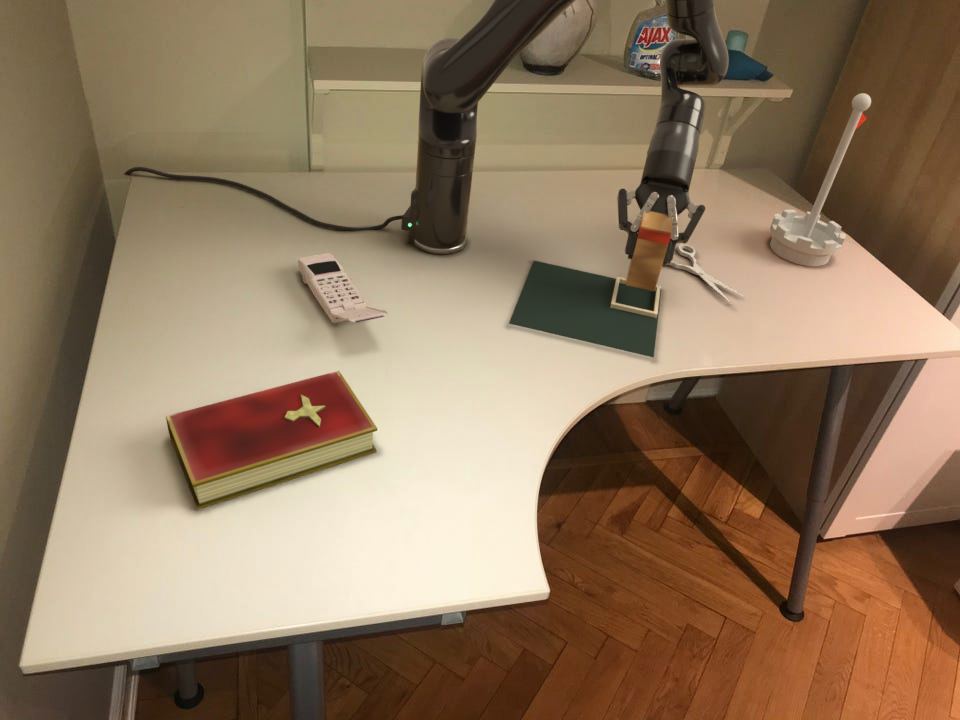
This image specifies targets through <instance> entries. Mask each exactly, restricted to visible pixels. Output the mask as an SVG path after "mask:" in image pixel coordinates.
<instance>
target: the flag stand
mask: <svg viewBox="0 0 960 720" xmlns="http://www.w3.org/2000/svg"><path fill="white" fill-rule="evenodd" d="M871 104H872V98H871V96H870V95H869V94H867V93H864V92H863V93H862V92H861V93H858V94H856V95H855V96H854V97H853V98H852V101H851V107H852V111H851V114H850V116H849V119H848V121H847V124H846V126H845V129H844V131H843V134H842V136H841V139H840V141H839V144H838V145H837V148H836V150H835V152H834V156H833V157H832V160H831V163H830V165H829V167H828V169H827V171H826V174H825V177H824V179H823V182H822V184H821V187H820V189H819V192H818V194H817V195H816V198H815V201H814V204H813V206H812V208H811V211H806V213H805V215H800V214H799V215H797V213H798V212H797V211H796V209H783V210H782V212H781V214H779V213H775V214H774V216H773V219H772V222H771V224H770V228H769V230H770V234H771V235H772V237H771V240H770V243H769V246H770V248H771V251H773V252H774V254H776V255H777V256H779V257H781V258H782V259H784V260H785V261H788V262H791V263H793V264H797V265H801V266H806V267H820V266H824V265H826V264H828V263H829V262H830V259H831V256H832V255H833V254H836V253H838V252H840V250H841V249H842V246H843V244H844V242H845V240H846V238H847V234H846V233H844V232H840V231H841V230H842V229H843V228H842V226H841V225H840V224H838V223H837V222H835V221H834V220H831V221H828V223H825V222H823V221H820V218H821V214H820V213H821V211H822V209H823V207H824V205H825V202H826V200H827V197H828V195H829V193H830V190H831V189H832V186H833V184H834V180H835V178H836V176H837V174H838V172H839V169H840V167H841V164H842V162H843V159H844V157H845V155H846V152H847V150H848V147H849V145H850V143H851V140H852V139H853V136H854V133H855V131H856V130H857V129H858V128H859V127H861V125H862V124H863V123H864V122H865V121H866V120H867V119H868V118H867V116H866V115H865V114H864V113H863V112H865V111H867V110H868V109H869V108H870V107H871Z"/></svg>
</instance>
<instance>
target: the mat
mask: <svg viewBox="0 0 960 720" xmlns="http://www.w3.org/2000/svg"><path fill="white" fill-rule="evenodd" d="M626 279H627V277H626V278H625V277H622V276H621V277H620V276H616V278H615V277H610V276H605V275H601V274H597V273H592V272H588V271H583V270H580V269H574V268H570V267H565V266H560V265H556V264H551V263H547V262H543V261H538V260H533V261H532V264H531V266H530V269H529V272H528V274H527V276H526V278H525V281H524V283H523V286H522V289H521V291H520V294H519V296H518V299H517V302H516V305H515V307H514V309H513V312H512V314H511V317H510V319H509V322H508V324H509V325H513V326H518V327H520V328H521V327H522V328H527V329H529V330H534V331H539V332H543V333H546V334H551V335H555V336H559V337H560V336H561V337H565V338H569V339H573V340H577V341H581V342H585V343H590V344H593V345H599V346H603V347H607V348H610V349H616V350H620V351H624V352H628V353H632V354H637V355H641V356H645V357H649V358H654V357H655V349H656V341H657V332H658V323H659V314H660V306H661V297H662V287H661V285H657V284H656V288H655V291H650V290H645V289H641V288H636V287H632V286H627V285H626Z"/></svg>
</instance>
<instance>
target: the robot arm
mask: <svg viewBox="0 0 960 720" xmlns="http://www.w3.org/2000/svg"><path fill="white" fill-rule="evenodd" d="M576 1H577V0H493V2H492V3H491V5H490V6H489V8H488V9H487V10H486V12H485V13H484V14H483V16H481V18H480V19H479V20H478V22H476V23H475V24H474V25H473V26H472V27H471V28H470V29H469V30H468V31H467V32H466V33H465V34H464V35H463V36H462V37H461V38H459V37H454V36H453V37H452V36H451V37H444V38H441V39H439V40H437V41H435V42H434V43H433V44H432V45H431V46H430V47H429V48H428V49H427V51H426V52H425V54H424V57H423V60H422V64H421V73H420V89H419V91H420V93H419V108H418V109H419V110H418V129H417V130H418V131H417V132H418V133H417V134H418V135H417V136H418V137H417V153H416V154H417V155H416V169H415V171H416V172H415V185H414V188H413V190H412V191H411V193H410V204H409V206H408V208H407V209H406V210H405V212H404V213H403V214H399V215H394V216H391V217H389V218H387V219H386V220H385V221H384V222H383V223H381V224H378V225H373V226H365V227H352V226H345V225H338V224H332V223H327V222H323V221H321V220H317V219H314V218H313V217H310V216H308V215H307V214H305V213H303V212H302V211H299V210H297V209H296V208H293V207H291V206H290V205H287V204H286V203H284V202H282V201H280V200H278V199H277V198H275V197H273V196H271V194H268V193H266V192H264V191H261V190H258V188H257V189H256V188H254V187H251V186H249V185H247V184H243V183H240V182H237V181H234V180H229V179H225V178H220V177H214V176H203V175H202V176H201V175H188V174H187V175H186V174H173V173H167V172H163V171H159V170H156V169H153V168H149V167H146V166H145V167H143V166H135V167H131V168H129V169H127V170H126V171H124V173H123V175H125V176H129V175H130V174H133V173H135V172H145V173H150V174H153V175H157V176H161V177H164V178H169V179H175V180H176V179H177V180H191V181H207V182H215V183H222V184H227V185H230V186H233V187H238V188H241V189H244V190H246V191H249V192H252V193H253V194H256V195H259V196H261V197H263V198H265V199H267V200H269V201H271V202H273V203H274V204H276V205H277V206H279V207H281V208H283V209H285V210H287V211H289V212H291V213H293V214H295V215H296V216H298V217H300V218H302V219H303V220H305V221H308V222H309V223H312V224H314V225H317V226H320V227H322V228H327V229H332V230H338V231H345V232H361V231H362V232H364V231H377V230H381V229H384V228H386V227H387V226H388V225H389V224H390V223H391V222H395V221H401V231H404V232H408V241H407V243H408V244H410V245H413V246H415V247H416V248H417V249H419V250H421V251H423V252H426V253H429V254H435V255H449V254H450V255H451V254H455V253H458V252H460V251H462V250H463V249H464V248H465V246H466V242H467V227H468V220H469V208H470V201H471V192H472V191H471V190H472V183H473V182H472V180H473V172H474V163H475V155H476V146H477V137H478V135H477V133H478V130H477V126H478V125H477V124H478V107H479V102H480V101H481V100H482V98H483V97H484V96H485V95H486V93H488V91H489V90H490V88H491V87H492V86H493V85H494V84H495V82H496V81H497V80H498V78H499V77H500V76H501V75H502V74H503V73H504V72H505V70H506V69H507V67H508V66H509V65H510V64H511V63H512V62H513V61H514V59H516V57H517V56H518V55H520V53H521V52H523V50H524V49H526V48H527V47H528V46H529V45H530V44H531V43H532V42H533V41H535V40H536V39H537V38H538V37H539V36H540V35H541V34H542V33H543V32H545V30H547V28H549V26H550V25H551V24H552V23H553V22H554V21H555V20H557V19H558V18H559V16H561V15H562V14H563V13H564V12H565V11H566V10H567V9H568V8H569V7H571V6H572V5H573V4H574V3H575V2H576ZM664 3H665V10H666V11H665V13H666V21H667V25H668V28H669V29H670V30H671V31H673V32H675V33H677V34H681V35H683V36H684V35H685V36H688V37H690V38H677V39H673V40H671V41H669V42H668V43H667V44H666V45H665V46H664V48H663V49H662V51H661V53H660V57H659V73H660V86H661V87H660V91H661V92H660V105H659V109H658V110H659V111H658V115H657V119H656V123H655V127H654V131H653V133H652V136H651V138H650V142H649V146H648V149H647V152H646V157H645V162H644V167H643V170H642V175H641V178H640V184H639V185H638V186H637V188H636V189H635V190H626V189H625V188H620V189H619V190H618V194H617V217H618V228H619V230H620V231H623V232H626V233H627V240H626V244H625V248H624V254H625V255H627V259H628V260H631V259H632V257H633V254H634V250H635V245H636V241H637V237H638V231H639V228H640V223H641V219H642V215H643V213H644V212H645V211H646V212H645V213H649V212H650V211H652V212H657V213H662V214H667V215H668V217H669V218H673V225H672V233H671V237H670V241H669V244H668V247H667V250H666V254H665V257H664V260H663V264H662V267H667V266H668V265H667V263H668V264H670V262H671V261H673V259H674V256H675V251H676V246H677V244H687V243H688V242H689V240H690V238H691V236H692V235H693V233H694V231H695V229H696V228H697V226H698V224H699V223H700V220H701V218H702V217H703V215H704V213H705V211H706V206H705V205H704V204H699V205H698V204H696V203H694V202H692V201H691V199H690V195H689V191H690V187H691V184H692V179H693V175H694V170H695V165H696V162H697V156H698V152H699V146H700V137H701V133H702V127H703V123H704V119H705V114H706V110H707V109H706V108H707V104H706V100H705V98H703V96H701V95H700V94H699V93H697V92H694V91H691V90H688V89H683V88H681V87H698V86H699V87H700V86H701V87H712V86H715V85H718V84H719V83H721V82H722V80H723V79H724V78H725V77H726V75H727V73H728V69H729V64H730V63H729V62H730V57H729V50H728V46H727V44H726V40H725V38H724V35H723V33H722V30H721V27H720V24H719V21H718V16H717V13H716V8H715V7H716V6H715V0H665V1H664ZM633 199H635V201H636V204H637V206H638V208H639V210H640V211H639V213H638V214H637V215H636V217H635V219H634V221H633V222H631V221H629V218H628V217H629V216H628V215H629V213H628V206H630V205H631V204H632V200H633ZM685 210H687V211H688V212H687V217H688V218H689V219H690V220H689V222H688V223H687V226H686V228H685V229H684V231H681V232H679V230H678V216H679V215H681V214H682V213H683V212H684V211H685Z"/></svg>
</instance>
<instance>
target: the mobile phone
mask: <svg viewBox="0 0 960 720" xmlns="http://www.w3.org/2000/svg"><path fill="white" fill-rule="evenodd" d="M297 266H298V270H299V272H300V274H301V277H302V281H303V283H304V284H307V286H308V287H309V289H310V290H311V293H312V294H313V296H314V297H315V299H316V300H317V302H318V304H319V305H320V306H321V308H322V309H323V312H325V314H326V315H327V316H328V318H329V320H330V321H331V322H332V323H333V324H336V323H337V324H338V323H341V322H346V321H347V322H351V323H360V322H364V321H370V320H375V319H379V318H380V319H381V318H385V317H386V316H387V315H388V313H389V312H388V311H387V310H385V309H379V308H374V307H369V306H368V304H367V302H365V300H364V299H363V297H362V296H361V294H360V292H359V290H358V289H357V287H356V286H355V284H354V283H353V281H352V280H351V279H350V277H349V276H348V274H347V273H346V271H345V270H344V268H343V267H342V265H341V264H340V263H339V261H338V260H337V259H336V257H335V256H333V254H332V253H328V252H327V253H322V254H315V255H308V256H301V257H298V260H297Z"/></svg>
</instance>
